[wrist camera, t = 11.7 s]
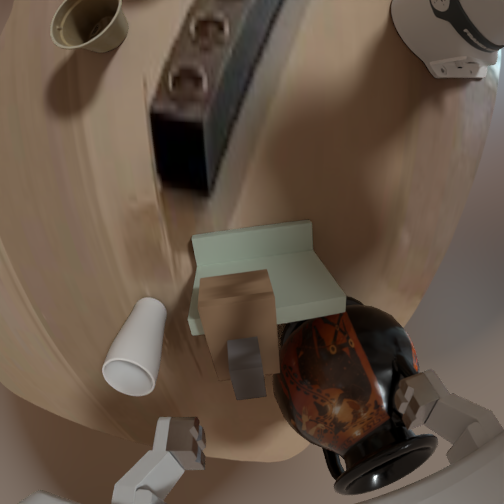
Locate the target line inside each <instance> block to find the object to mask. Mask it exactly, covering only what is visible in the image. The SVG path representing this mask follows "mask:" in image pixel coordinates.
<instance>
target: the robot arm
mask: <svg viewBox="0 0 504 504" xmlns="http://www.w3.org/2000/svg"><path fill="white" fill-rule="evenodd" d="M391 13H392V18H393V22H394V25H395V27H396V29H397V31H398V33H399V35H400V36H401V38H402V39H403V41H404V42H405V44H406V45H407V46H408V47H409V48H410V49H411V50H412V51H413V52H414V53H415V54H416V55H417V56H418V57H419V58H420V59H421V60H422V61H423V62H424V63H425V65H426V66H427V68H428V70H429V71H430V73H431V74H432V75H433V76H434V77H435V78H485V77H486V74H487V66H489V65H495V64H496V62H497V57H498V50H499V49H501V48H503V47H504V0H393V1H392V5H391ZM441 70H442V72H441ZM399 387H400V388H399V389H398V390H397V391H396V393H395V405H396V408H397V410H398V411H399V412H400V413H402V414H403V417H402V420H403V422H404V424H405V426H406V428H407V430H410V429H413V428H416V427H418V426H421V425H423V424H424V425H425V426H427V427H428V428H429V429H431V430H432V431H434V432H435V433H437V434H438V435H440V436H441V437H443V438H444V439H446V440H447V441H449V442H450V443H452V444H453V446H452V447H451V448H450V450H449V451H448V452H447V455H446V456H447V458H448V460H449V462H450V464H451V465H449V466H447V467H446V468H444V469H442V470H440V471H438V472H436V473H434V474H432V475H429V476H427V477H425V478H423V479H421V480H419V481H417V482H414V483H412V484H410V485H407V486H405V487H402V488H400V489H398V490H395V491H392V492H389V493H387V494H384V495H381V496H378V497H375V498H372V499H369V500H366V501H363V502H360V503H356V504H504V429H503V428H502V426H501V425H500V423H499V421H498V420H497V418H496V417H495V415H494V414H493V412H492V411H491V410H489V409H486V408H484V407H482V406H480V405H477V404H475V403H473V402H471V401H469V400H467V399H464V398H462V397H460V396H458V395H456V394H454V393H452V394H450V393H449V391H448V390H447V388H446V387H445V385H444V384H443V383H442V381H441V380H440V378H439V377H438V375H437V374H436V372H435V371H434V370H433V369H429V370H426V371H424V372H420V373H417V374H415V375H412V376H409V377H407V378H404V379H402V380H400V382H399ZM205 447H206V439H205V433H204V429H203V427H202V426H200V425H199V420H198V418H197V417H159V419H158V421H157V426H156V432H155V437H154V443H153V449H152V450H149V451H148V452H147V453H146V454H145V455H144V456H143V457H142V458H141V459H140V460H139V461H138V462H137V463H136V464H135V465H134V466H133V467H132V468H131V469H130V470H129V471H128V472H127V473H126V474H125V475H124V476H123V477H122V478H121V479H120V480H119V481H118V482H117V483H116V484H115V487H114V492H113V497H112V503H111V504H167V503H165V502H164V501H163V500H164V499H165V497H166V495H168V493H169V492H170V490H171V489H172V488H173V486H174V485H175V484H176V482H177V481H178V480H179V478H180V477H181V475H182V474H183V473H184V470H204V469H205V455H204V453H203V450H204V448H205ZM18 504H81V503H78V502H75V501H72V500H69V499H66V498H63V497H60V496H57V495H55V494H52V493H49V492H47V491H43V490H38V491H36V492H34V493H32V494H31V495H30V496H28V497H26V498H25V499H23V500H22V501H21V502H19V503H18Z"/></svg>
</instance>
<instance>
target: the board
mask: <svg viewBox="0 0 504 504" xmlns="http://www.w3.org/2000/svg"><path fill="white" fill-rule="evenodd" d="M192 244H193V249H194V254H195V259H196V263H197V270H196V275H195V281H194V286H193V292H192V297H191V303H190V309H189V315H188V323H189V327H190V330H191V334H192V336H193V335H203V334H205V333H204V330H203V326H202V323H201V319H200V315H199V312H198V296H199V284H200V278H205V277H213V276H220V275H227V274H235V273H242V272H249V271H256V270H263V269H267V271H268V274H269V278H270V282H271V285H272V289H273V292H274V296H275V305H276V319H277V324H283V323H289V322H295V321H301V320H306V319H312V318H317V317H322V316H328V315H333V314H338V313H343V312H345V309H346V295H345V293H344V292H343V291H342V289H341V288H340V286H339V285H338V284H337V282H336V281H335V279H334V278H333V277H332V275H331V274H330V273H329V271H328V270H327V268H326V267H325V266H324V264H323V263H322V262H321V260H320V259H319V258H318V256H317V255H316V254H315V252H314V251H313V237H312V222H311V221H310V220H301V221H293V222H285V223H277V224H270V225H262V226H255V227H247V228H240V229H233V230H226V231H219V232H212V233H205V234H198V235H193V236H192Z"/></svg>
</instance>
